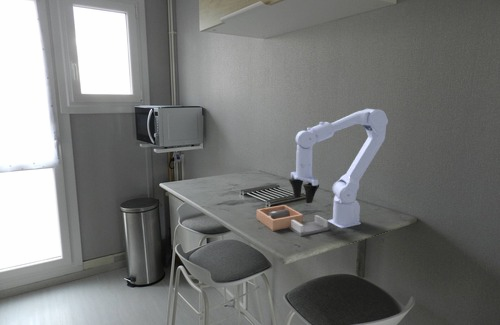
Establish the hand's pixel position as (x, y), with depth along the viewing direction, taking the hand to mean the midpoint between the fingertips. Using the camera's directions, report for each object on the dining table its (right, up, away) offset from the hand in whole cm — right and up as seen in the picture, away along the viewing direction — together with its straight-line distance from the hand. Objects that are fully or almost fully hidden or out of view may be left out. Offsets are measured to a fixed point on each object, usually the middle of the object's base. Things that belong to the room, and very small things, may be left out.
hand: (303, 199), depth 123 cm
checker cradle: (+2, -10, -3) cm, 11 cm away
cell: (-9, -6, +3) cm, 11 cm away
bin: (-9, -9, +4) cm, 13 cm away
